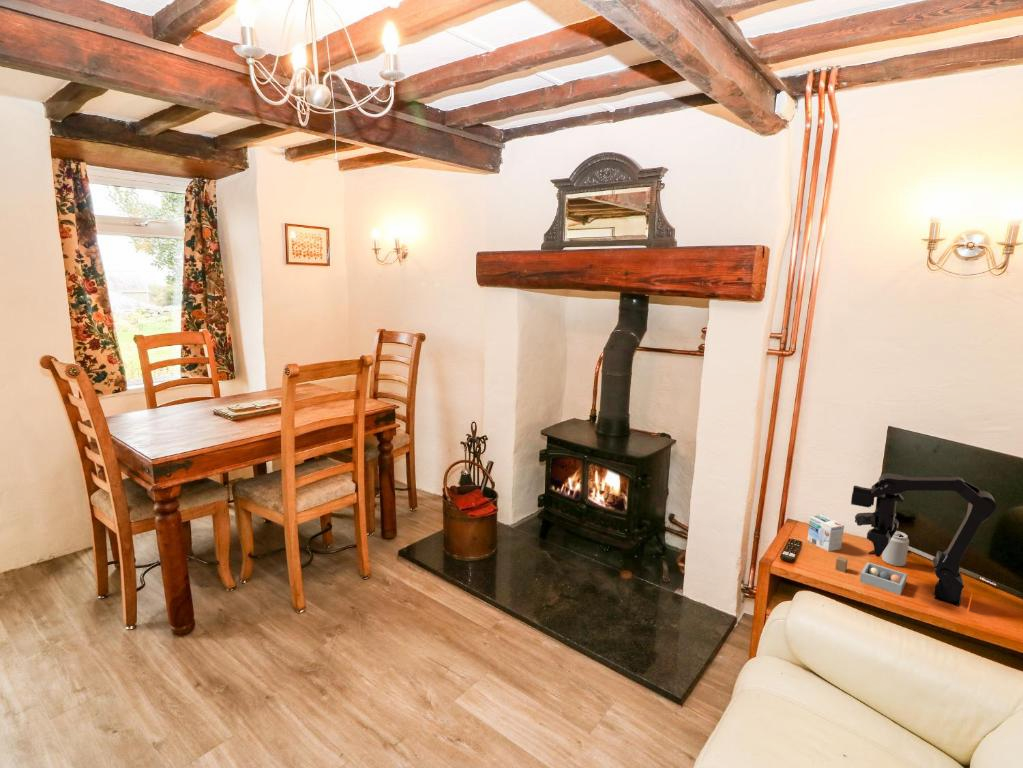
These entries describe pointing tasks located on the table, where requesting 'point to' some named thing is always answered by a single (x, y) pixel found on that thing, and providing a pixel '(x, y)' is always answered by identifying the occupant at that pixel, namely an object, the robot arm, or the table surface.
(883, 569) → the box
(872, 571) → the ball
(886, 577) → the ball
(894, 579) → the ball
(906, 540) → the can
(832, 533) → the light bulb box
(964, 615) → the table surface
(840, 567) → the lid
